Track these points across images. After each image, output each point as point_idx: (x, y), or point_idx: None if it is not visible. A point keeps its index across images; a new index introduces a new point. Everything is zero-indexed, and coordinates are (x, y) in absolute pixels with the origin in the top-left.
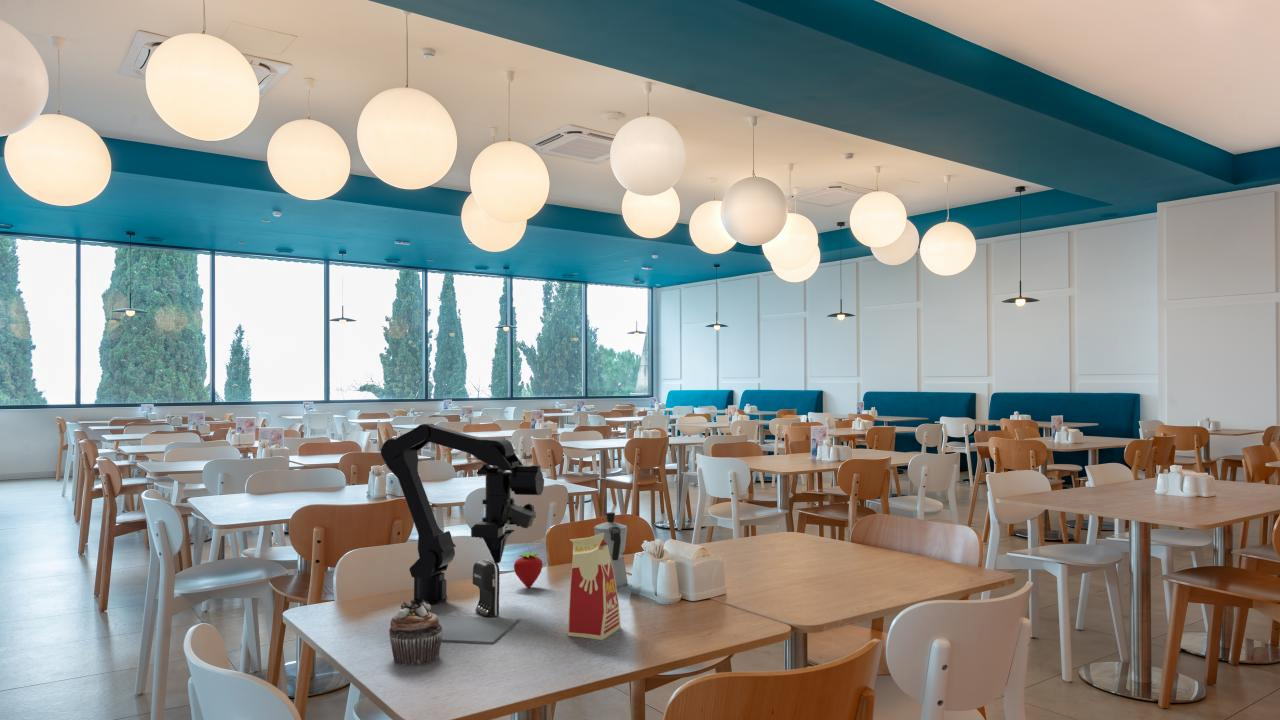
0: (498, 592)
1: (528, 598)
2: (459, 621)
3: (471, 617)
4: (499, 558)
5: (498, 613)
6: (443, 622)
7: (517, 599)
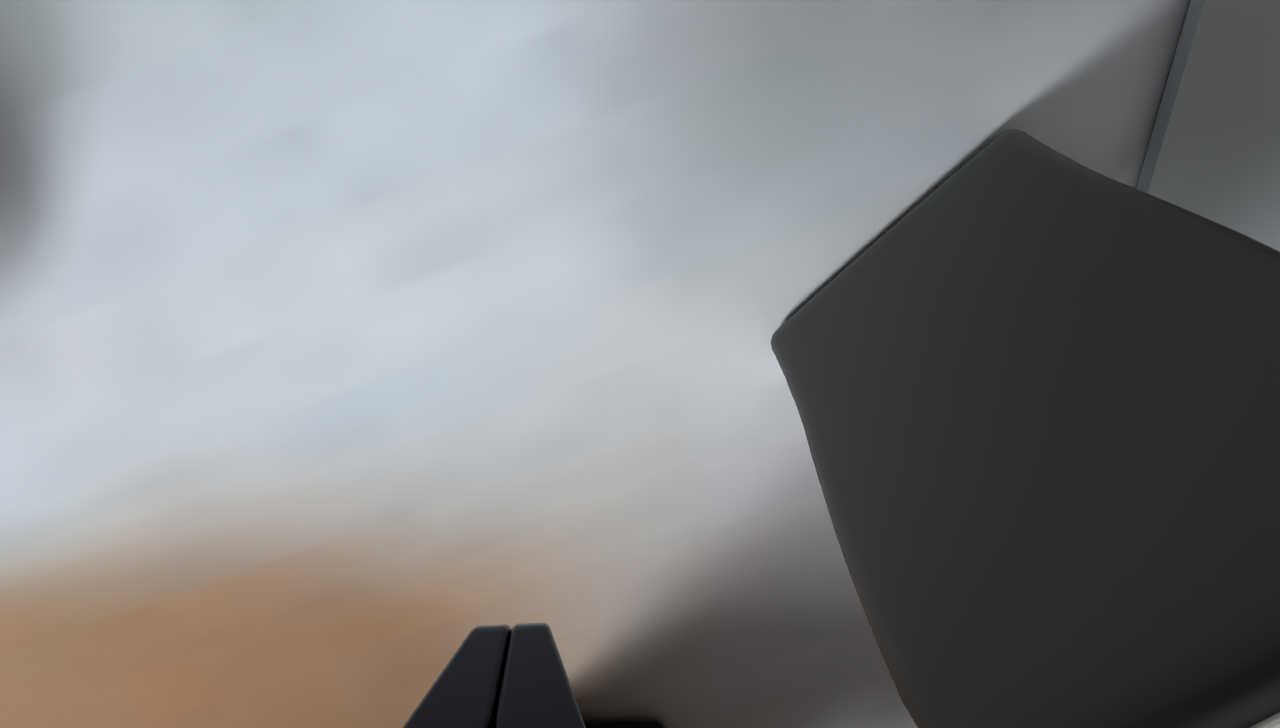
0: (1175, 207)
1: (176, 47)
2: None
3: None
4: (569, 690)
5: (1024, 133)
6: None
7: (277, 168)
